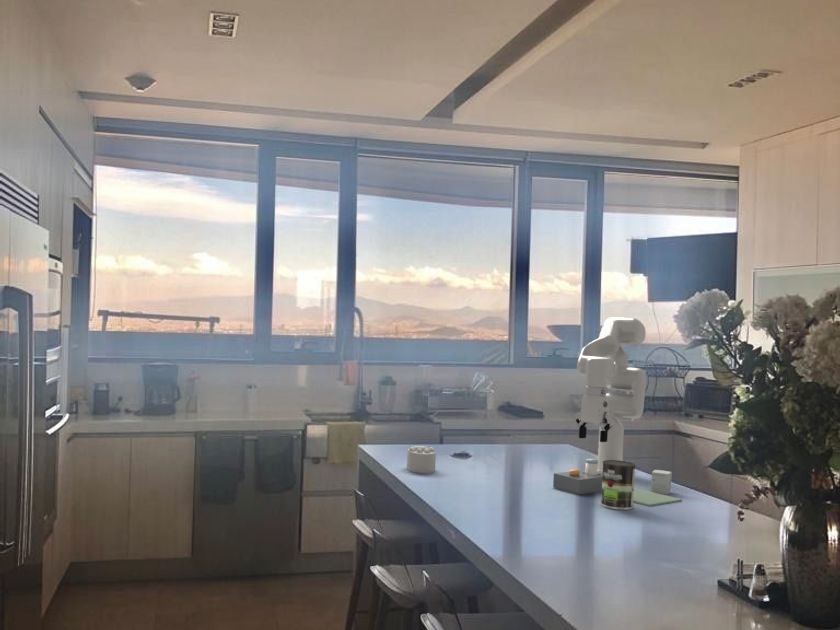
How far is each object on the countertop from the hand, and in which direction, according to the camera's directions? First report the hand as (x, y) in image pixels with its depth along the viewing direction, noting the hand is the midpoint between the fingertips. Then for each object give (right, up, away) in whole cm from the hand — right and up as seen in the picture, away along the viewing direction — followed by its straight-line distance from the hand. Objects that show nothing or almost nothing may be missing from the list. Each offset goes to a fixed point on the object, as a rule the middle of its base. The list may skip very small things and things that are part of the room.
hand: (592, 439), depth 295 cm
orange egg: (-8, -16, -5) cm, 18 cm away
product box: (+24, -19, -1) cm, 31 cm away
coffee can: (+2, -18, -28) cm, 33 cm away
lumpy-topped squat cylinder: (-61, -14, +18) cm, 66 cm away
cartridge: (-1, -17, 0) cm, 17 cm away
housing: (-4, -17, -2) cm, 18 cm away
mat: (+15, -18, -13) cm, 27 cm away
